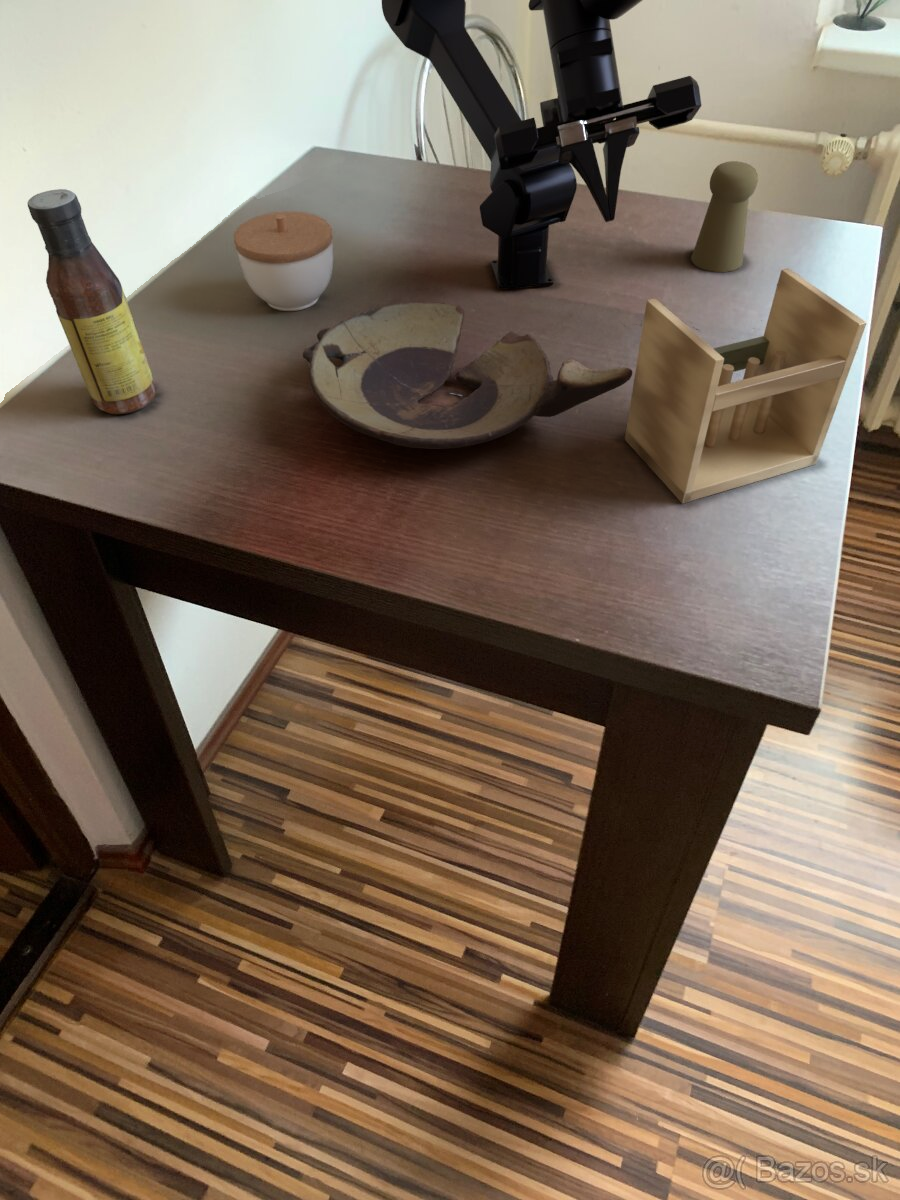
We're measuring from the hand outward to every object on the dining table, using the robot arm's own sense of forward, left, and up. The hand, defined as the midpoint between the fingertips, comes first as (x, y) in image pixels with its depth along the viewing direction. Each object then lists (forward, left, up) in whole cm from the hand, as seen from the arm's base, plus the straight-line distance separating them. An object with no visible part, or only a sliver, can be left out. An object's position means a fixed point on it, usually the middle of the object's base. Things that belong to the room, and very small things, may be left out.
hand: (610, 220), depth 85 cm
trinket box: (-15, -32, -13) cm, 38 cm away
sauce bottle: (+3, -49, -13) cm, 51 cm away
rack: (+21, +6, -13) cm, 25 cm away
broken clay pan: (+11, -17, -13) cm, 24 cm away
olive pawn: (-16, +19, -13) cm, 28 cm away
